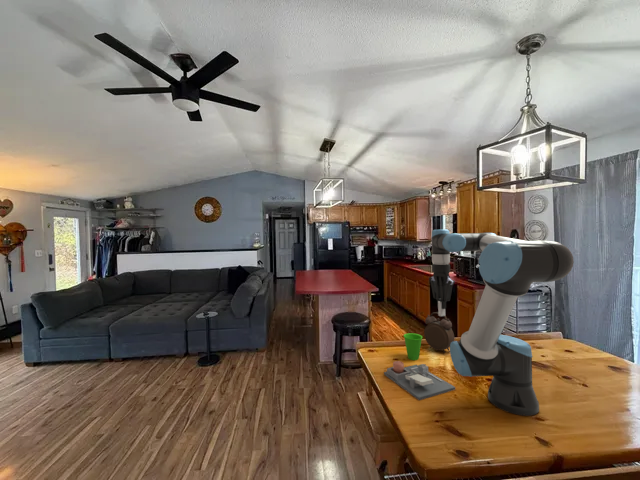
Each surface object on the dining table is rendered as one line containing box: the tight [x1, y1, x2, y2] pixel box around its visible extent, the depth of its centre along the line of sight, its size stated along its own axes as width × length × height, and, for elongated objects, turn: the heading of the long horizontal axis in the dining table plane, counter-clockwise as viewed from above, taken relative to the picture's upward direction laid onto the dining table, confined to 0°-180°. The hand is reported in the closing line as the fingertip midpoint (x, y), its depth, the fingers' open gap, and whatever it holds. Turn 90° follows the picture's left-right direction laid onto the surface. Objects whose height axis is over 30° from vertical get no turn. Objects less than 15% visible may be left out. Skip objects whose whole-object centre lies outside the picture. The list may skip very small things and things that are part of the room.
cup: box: [403, 332, 423, 361], centre depth 141 cm, size 9×9×11 cm
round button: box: [392, 360, 405, 374], centre depth 122 cm, size 4×4×3 cm
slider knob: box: [417, 363, 429, 375], centre depth 122 cm, size 3×3×4 cm
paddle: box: [405, 373, 433, 386], centre depth 114 cm, size 10×5×1 cm, turn 22°
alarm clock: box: [423, 311, 455, 354], centre depth 150 cm, size 14×7×20 cm, turn 36°
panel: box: [383, 364, 456, 401], centre depth 118 cm, size 22×18×4 cm
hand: (441, 315), depth 129 cm, fingers closed
